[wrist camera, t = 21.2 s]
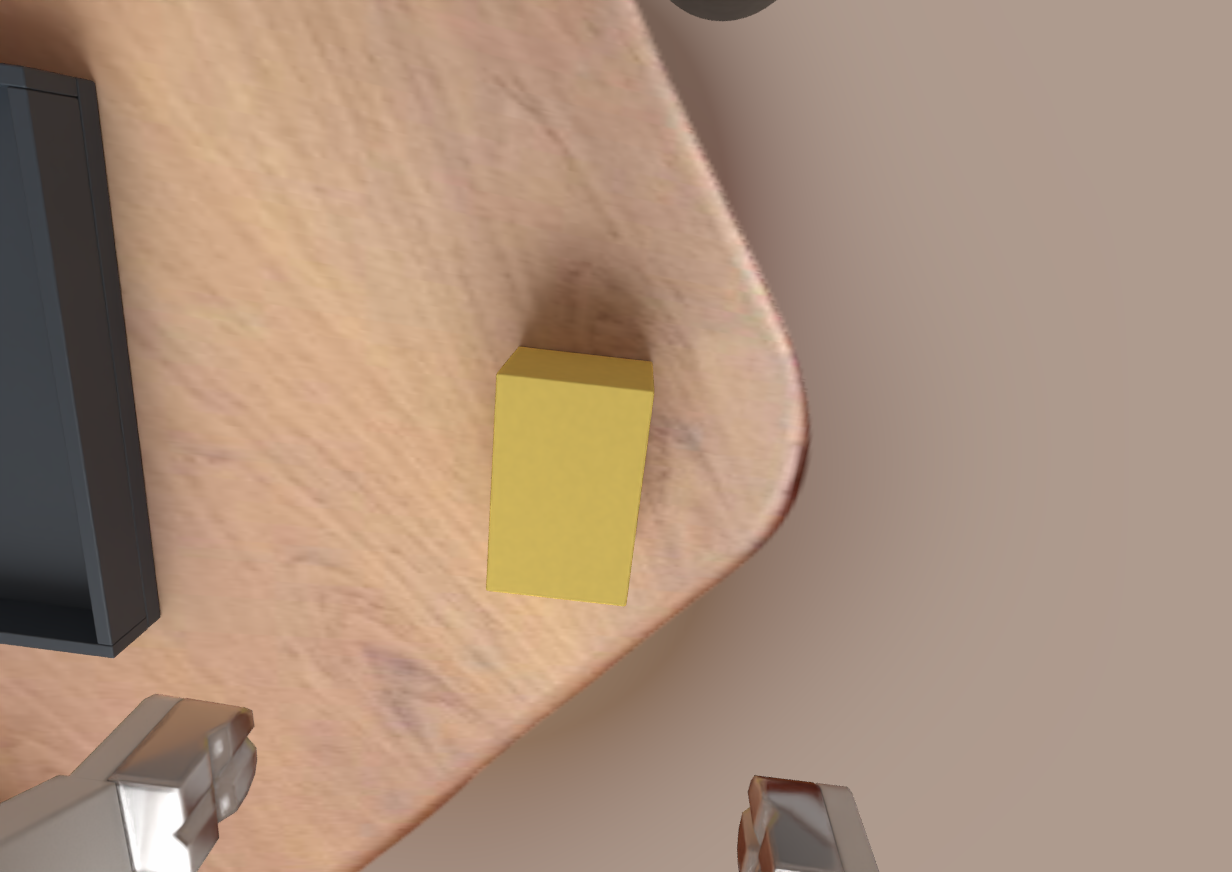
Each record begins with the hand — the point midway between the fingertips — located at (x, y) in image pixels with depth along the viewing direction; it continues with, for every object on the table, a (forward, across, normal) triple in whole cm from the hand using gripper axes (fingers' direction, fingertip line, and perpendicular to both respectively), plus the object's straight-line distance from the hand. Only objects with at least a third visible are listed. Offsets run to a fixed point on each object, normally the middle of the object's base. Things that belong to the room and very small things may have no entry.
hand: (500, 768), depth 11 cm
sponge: (+16, 0, +1) cm, 16 cm away
